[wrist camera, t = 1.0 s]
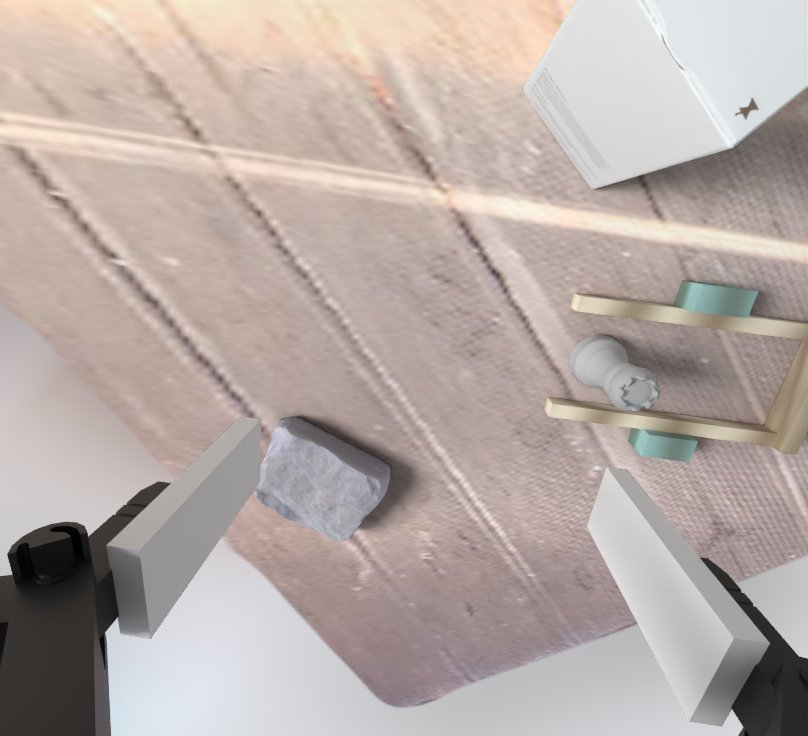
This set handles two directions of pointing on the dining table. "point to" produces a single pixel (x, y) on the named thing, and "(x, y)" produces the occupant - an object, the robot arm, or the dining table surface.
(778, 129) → the dining table surface
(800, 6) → the supplement box
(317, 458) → the stone block
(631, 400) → the rook chess piece
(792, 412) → the beam track
